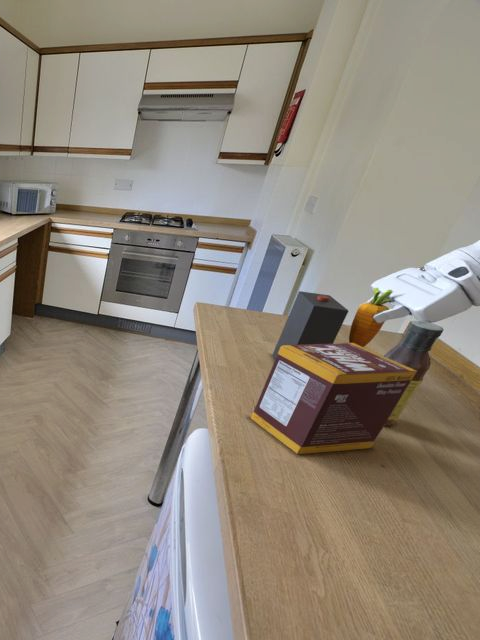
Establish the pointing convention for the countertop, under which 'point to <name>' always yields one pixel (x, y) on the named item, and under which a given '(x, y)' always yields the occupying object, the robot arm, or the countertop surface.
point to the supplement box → (330, 396)
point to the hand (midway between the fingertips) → (367, 314)
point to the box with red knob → (312, 321)
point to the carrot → (368, 319)
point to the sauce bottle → (413, 358)
